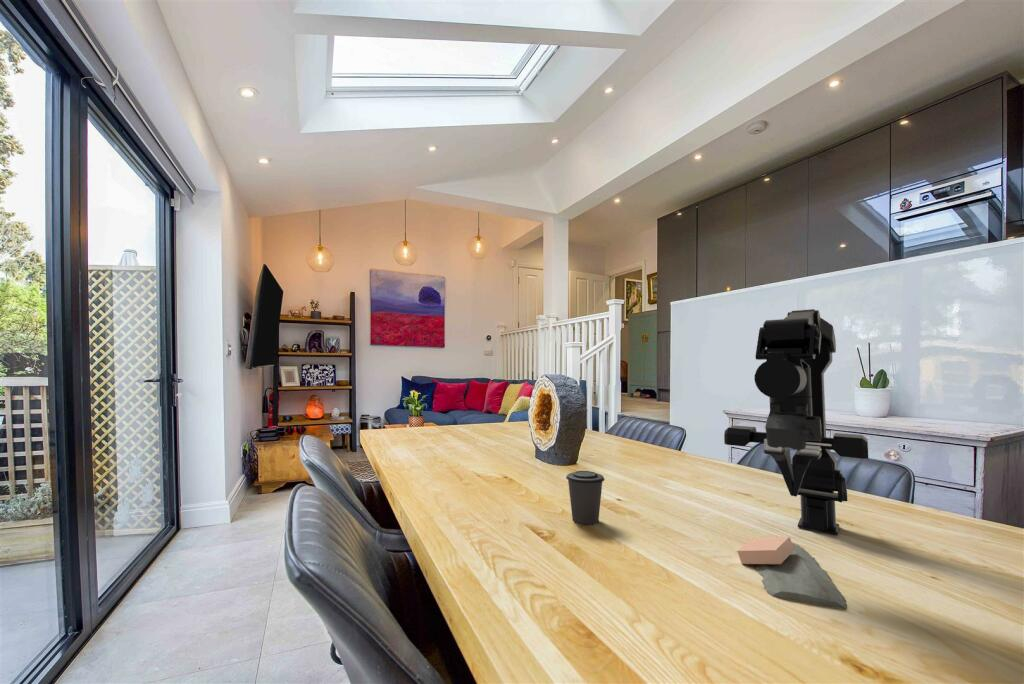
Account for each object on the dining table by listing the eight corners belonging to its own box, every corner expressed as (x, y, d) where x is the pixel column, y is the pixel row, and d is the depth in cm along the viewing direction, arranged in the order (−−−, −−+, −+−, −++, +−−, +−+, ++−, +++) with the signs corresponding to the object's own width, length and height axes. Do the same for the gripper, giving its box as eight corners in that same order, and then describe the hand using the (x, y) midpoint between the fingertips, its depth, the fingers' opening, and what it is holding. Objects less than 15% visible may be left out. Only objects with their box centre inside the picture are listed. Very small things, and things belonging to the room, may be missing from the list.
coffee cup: (608, 528, 85) (608, 477, 86) (568, 527, 86) (568, 476, 86) (601, 514, 93) (600, 468, 94) (564, 514, 94) (563, 467, 94)
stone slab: (770, 611, 59) (856, 615, 56) (766, 590, 60) (851, 592, 56) (743, 550, 80) (805, 550, 77) (741, 535, 80) (802, 534, 77)
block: (780, 564, 65) (741, 563, 70) (794, 549, 70) (757, 550, 74) (775, 550, 66) (737, 550, 70) (789, 536, 71) (752, 538, 75)
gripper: (714, 395, 68) (716, 495, 67) (865, 401, 57) (871, 522, 55) (731, 393, 77) (733, 482, 76) (865, 398, 65) (870, 503, 64)
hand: (794, 495), depth 67 cm, fingers closed
